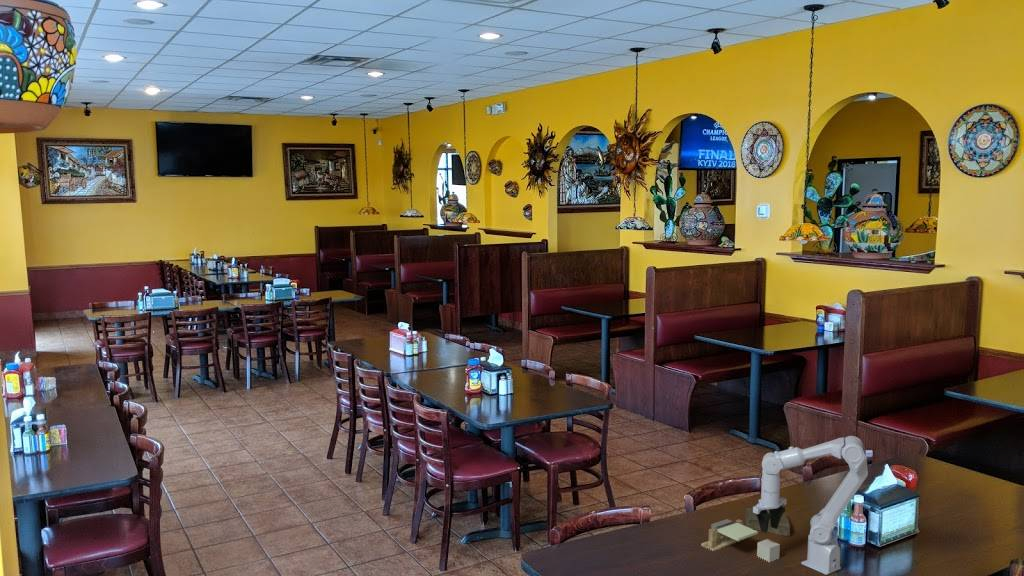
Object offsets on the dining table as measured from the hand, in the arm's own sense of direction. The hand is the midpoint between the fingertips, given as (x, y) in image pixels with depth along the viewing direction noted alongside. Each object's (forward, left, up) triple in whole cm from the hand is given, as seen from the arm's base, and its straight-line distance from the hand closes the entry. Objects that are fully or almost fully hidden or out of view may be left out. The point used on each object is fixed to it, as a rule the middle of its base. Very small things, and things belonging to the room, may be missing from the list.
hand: (769, 529), depth 261 cm
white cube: (0, 0, -7) cm, 7 cm away
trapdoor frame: (+16, +4, -10) cm, 19 cm away
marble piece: (+17, -21, -10) cm, 29 cm away
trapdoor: (+11, +4, -4) cm, 13 cm away
